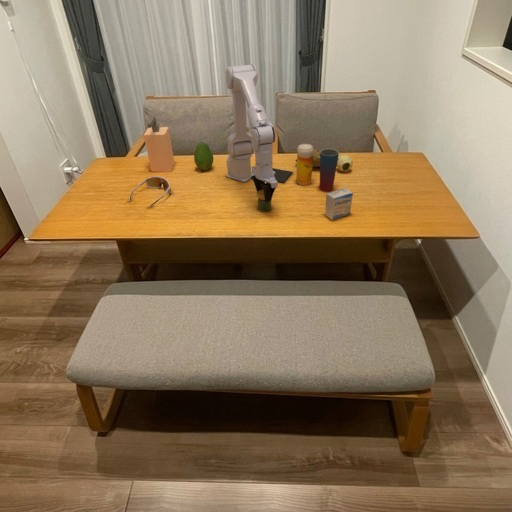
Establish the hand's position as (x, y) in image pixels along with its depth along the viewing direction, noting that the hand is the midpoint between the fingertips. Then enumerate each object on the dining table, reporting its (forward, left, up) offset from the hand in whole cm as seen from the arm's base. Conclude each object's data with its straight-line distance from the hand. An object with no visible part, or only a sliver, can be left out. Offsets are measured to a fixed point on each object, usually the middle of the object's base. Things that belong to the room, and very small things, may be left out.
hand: (264, 197), depth 137 cm
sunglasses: (-42, -16, -4) cm, 45 cm away
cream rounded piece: (+11, +43, -4) cm, 45 cm away
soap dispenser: (-56, +3, -4) cm, 56 cm away
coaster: (-10, +24, -4) cm, 26 cm away
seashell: (-2, +40, -4) cm, 40 cm away
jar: (0, 0, -4) cm, 4 cm away
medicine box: (+24, +10, -4) cm, 26 cm away
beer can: (+2, +25, -4) cm, 26 cm away
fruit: (-40, +13, -4) cm, 42 cm away
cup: (+12, +25, -4) cm, 28 cm away
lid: (0, 0, +2) cm, 2 cm away
